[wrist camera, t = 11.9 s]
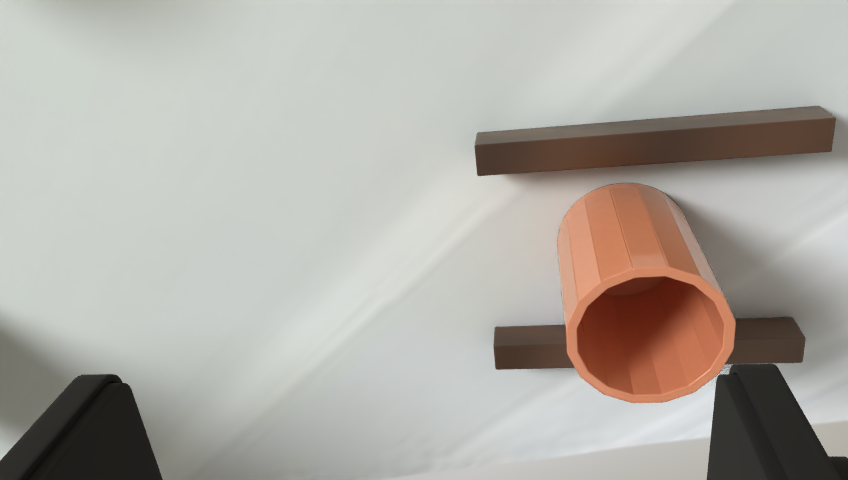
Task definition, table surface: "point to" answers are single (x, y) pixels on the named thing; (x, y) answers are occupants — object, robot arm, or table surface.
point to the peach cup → (640, 297)
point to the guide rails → (654, 146)
